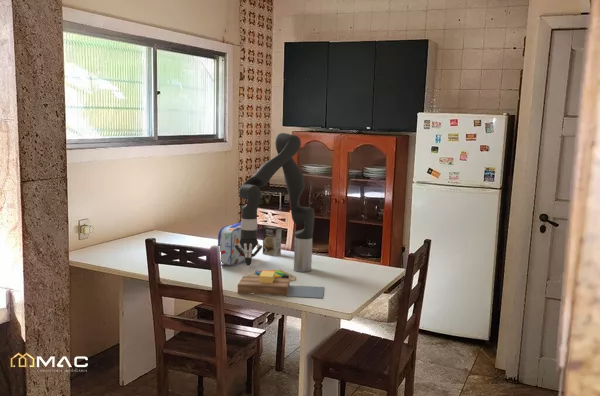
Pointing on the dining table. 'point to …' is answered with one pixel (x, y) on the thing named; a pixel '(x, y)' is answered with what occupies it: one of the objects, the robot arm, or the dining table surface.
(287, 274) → the wooden puzzle
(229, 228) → the lunch box
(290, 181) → the robot arm
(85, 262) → the dining table surface
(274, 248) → the coffee box
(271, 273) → the ochre tile
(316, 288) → the slate mat
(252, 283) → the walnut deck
